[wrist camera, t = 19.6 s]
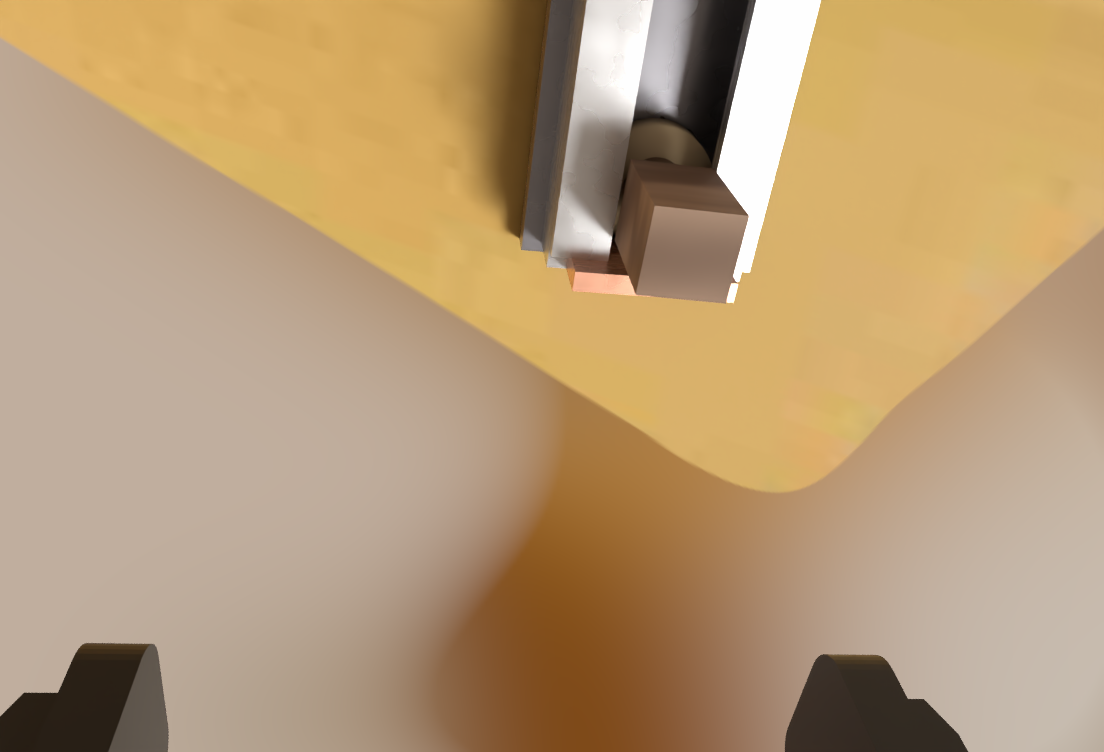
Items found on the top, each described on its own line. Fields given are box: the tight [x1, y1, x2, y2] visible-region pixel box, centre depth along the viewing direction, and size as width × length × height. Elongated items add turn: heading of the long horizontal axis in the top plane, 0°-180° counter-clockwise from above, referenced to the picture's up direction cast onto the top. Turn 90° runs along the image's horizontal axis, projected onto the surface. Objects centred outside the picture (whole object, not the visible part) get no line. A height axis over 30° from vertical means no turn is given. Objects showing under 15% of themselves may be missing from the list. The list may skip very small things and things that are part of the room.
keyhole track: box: [519, 0, 821, 302], centre depth 41 cm, size 24×12×7 cm, turn 173°
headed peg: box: [613, 118, 750, 303], centre depth 42 cm, size 6×6×10 cm
